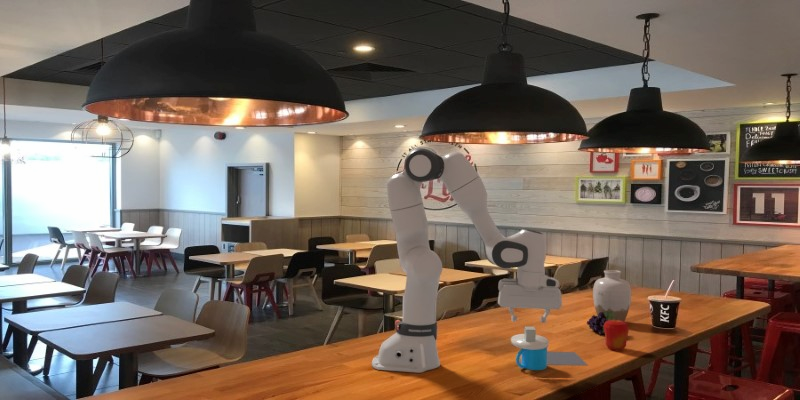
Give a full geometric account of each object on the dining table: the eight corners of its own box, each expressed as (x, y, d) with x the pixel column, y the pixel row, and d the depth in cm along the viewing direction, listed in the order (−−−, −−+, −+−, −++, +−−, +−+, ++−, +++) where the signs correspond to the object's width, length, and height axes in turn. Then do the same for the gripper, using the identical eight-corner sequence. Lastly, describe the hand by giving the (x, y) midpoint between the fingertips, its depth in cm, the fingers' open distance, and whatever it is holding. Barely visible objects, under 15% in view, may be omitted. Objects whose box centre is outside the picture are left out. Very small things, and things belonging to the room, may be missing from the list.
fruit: (595, 337, 256) (628, 334, 245) (581, 336, 249) (614, 334, 238) (592, 312, 259) (625, 308, 248) (578, 311, 252) (611, 307, 241)
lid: (514, 349, 194) (515, 334, 193) (507, 336, 205) (508, 322, 205) (552, 349, 194) (553, 334, 193) (543, 336, 205) (544, 322, 205)
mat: (539, 366, 203) (539, 364, 203) (529, 352, 219) (529, 351, 219) (588, 367, 203) (588, 365, 203) (574, 353, 219) (574, 351, 219)
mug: (533, 360, 206) (534, 336, 205) (551, 368, 200) (552, 343, 199) (507, 367, 200) (507, 343, 199) (525, 376, 193) (526, 351, 192)
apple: (633, 350, 224) (633, 318, 223) (616, 353, 220) (617, 320, 219) (614, 345, 231) (615, 313, 231) (598, 347, 227) (599, 315, 227)
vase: (632, 321, 272) (634, 270, 271) (628, 328, 258) (629, 274, 257) (595, 317, 279) (597, 267, 279) (589, 324, 265) (590, 271, 265)
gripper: (500, 279, 196) (498, 322, 196) (564, 282, 196) (562, 325, 196) (497, 276, 202) (495, 318, 203) (559, 279, 202) (557, 320, 203)
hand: (528, 321), depth 199 cm, fingers open, 8 cm apart
